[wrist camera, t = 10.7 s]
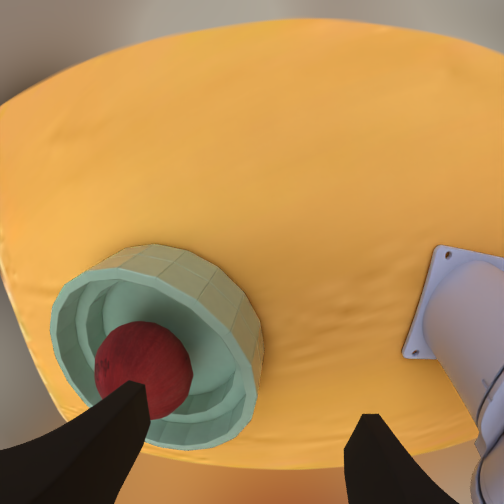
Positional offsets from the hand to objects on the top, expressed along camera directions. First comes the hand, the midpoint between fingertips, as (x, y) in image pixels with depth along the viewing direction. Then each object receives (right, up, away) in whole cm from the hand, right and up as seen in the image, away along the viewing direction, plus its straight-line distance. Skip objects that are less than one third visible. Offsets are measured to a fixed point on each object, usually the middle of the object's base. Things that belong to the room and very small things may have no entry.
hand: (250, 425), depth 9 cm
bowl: (-6, 0, +11) cm, 12 cm away
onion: (-6, 0, +11) cm, 12 cm away
